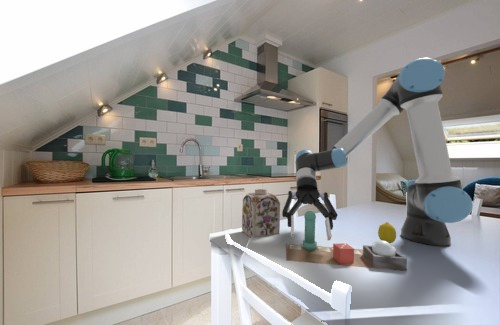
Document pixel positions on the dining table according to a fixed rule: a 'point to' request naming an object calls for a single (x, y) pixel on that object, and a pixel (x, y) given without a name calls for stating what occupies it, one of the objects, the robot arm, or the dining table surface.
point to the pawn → (309, 232)
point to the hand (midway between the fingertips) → (310, 237)
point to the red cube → (343, 253)
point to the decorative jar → (260, 214)
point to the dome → (383, 248)
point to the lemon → (387, 233)
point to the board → (360, 260)
